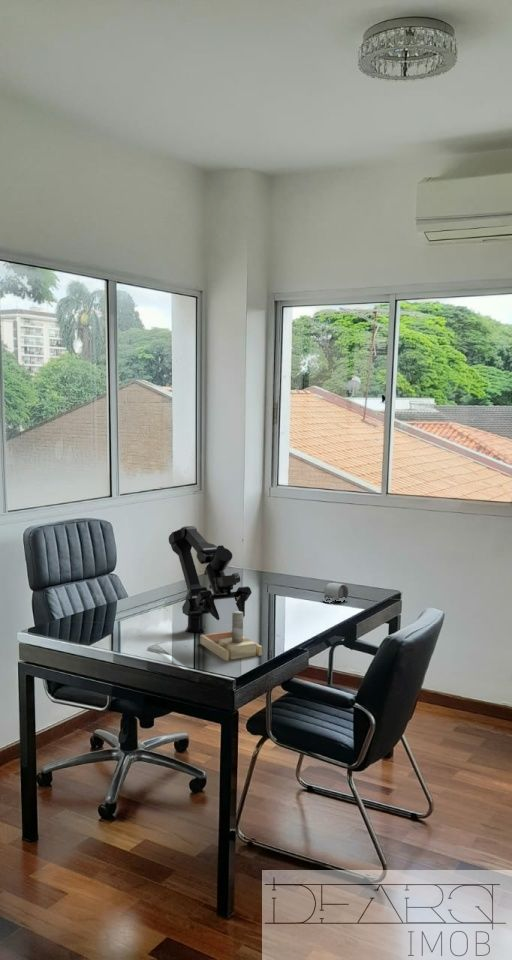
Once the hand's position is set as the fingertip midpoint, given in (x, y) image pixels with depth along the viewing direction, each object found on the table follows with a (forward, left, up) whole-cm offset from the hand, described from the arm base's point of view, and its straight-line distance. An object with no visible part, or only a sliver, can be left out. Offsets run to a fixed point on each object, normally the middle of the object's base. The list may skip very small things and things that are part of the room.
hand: (231, 618), depth 257 cm
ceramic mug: (-73, +39, -12) cm, 84 cm away
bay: (0, 0, -12) cm, 12 cm away
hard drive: (-1, -20, -12) cm, 24 cm away
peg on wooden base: (+4, +2, -10) cm, 11 cm away
